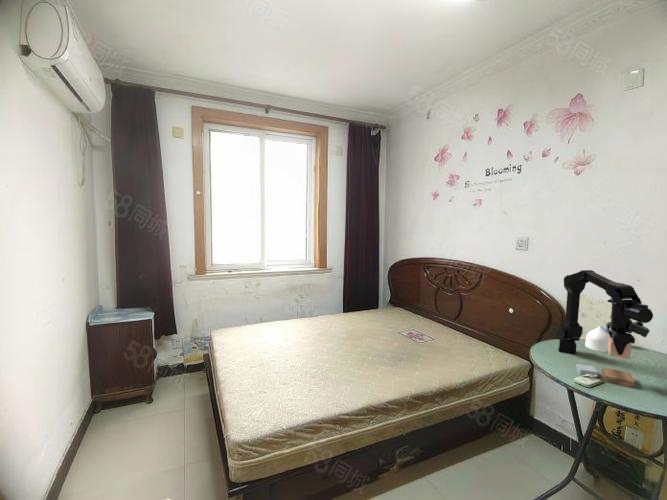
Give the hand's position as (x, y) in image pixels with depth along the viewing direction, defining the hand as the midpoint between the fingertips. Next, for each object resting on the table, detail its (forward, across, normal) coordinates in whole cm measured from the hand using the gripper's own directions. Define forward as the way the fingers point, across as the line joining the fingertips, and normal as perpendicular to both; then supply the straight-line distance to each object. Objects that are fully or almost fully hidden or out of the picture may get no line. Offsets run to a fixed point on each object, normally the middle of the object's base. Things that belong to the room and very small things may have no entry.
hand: (618, 352), depth 129 cm
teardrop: (+12, +38, +2) cm, 40 cm away
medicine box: (+12, +47, -4) cm, 48 cm away
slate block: (+12, 0, +10) cm, 16 cm away
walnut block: (+12, 0, 0) cm, 12 cm away
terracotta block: (+1, 0, 0) cm, 1 cm away
